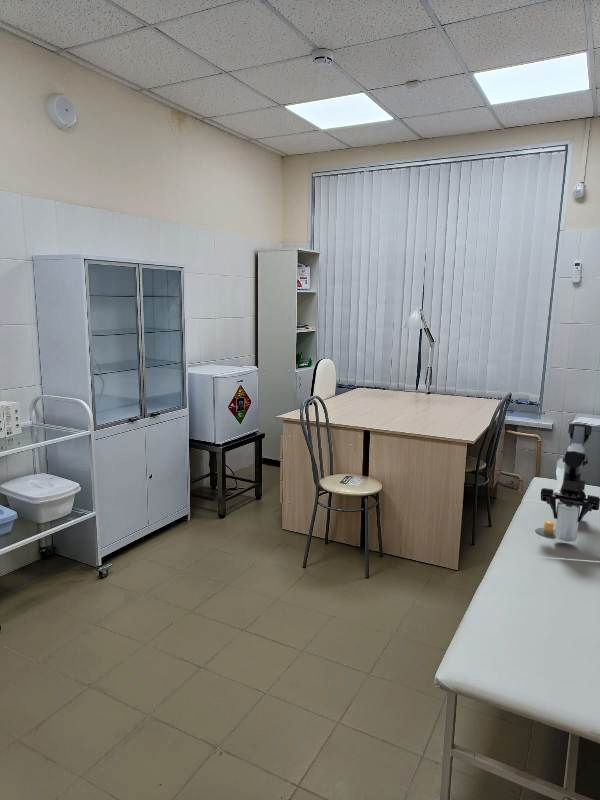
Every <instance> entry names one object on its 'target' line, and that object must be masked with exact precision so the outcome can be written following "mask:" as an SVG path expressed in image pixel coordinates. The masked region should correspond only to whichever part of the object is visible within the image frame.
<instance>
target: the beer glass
mask: <svg viewBox="0 0 600 800" xmlns="http://www.w3.org/2000/svg"><path fill="white" fill-rule="evenodd" d="M555 469H556V470H555V473H556V474H555V475H556V487H555V490H554V493H556V494H560V491H561V488H562V484H563V478H564V471H565V470H564V462H563V457H562V458H558V459H557V463H556V467H555Z"/></svg>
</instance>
